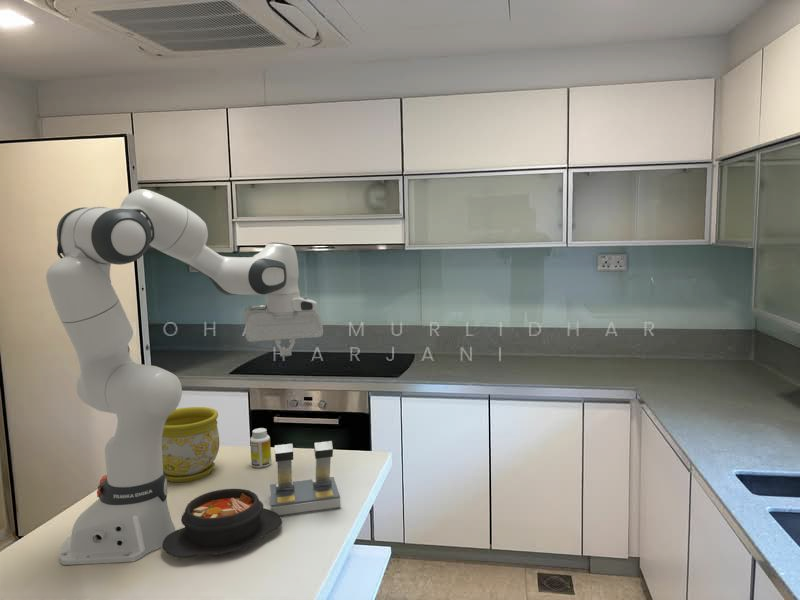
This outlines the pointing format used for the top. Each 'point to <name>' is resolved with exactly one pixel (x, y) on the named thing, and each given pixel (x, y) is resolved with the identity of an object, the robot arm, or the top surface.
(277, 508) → the switch unit
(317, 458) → the lever right
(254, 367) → the top surface
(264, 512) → the casserole
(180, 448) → the flowerpot
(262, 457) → the supplement bottle
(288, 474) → the lever left
